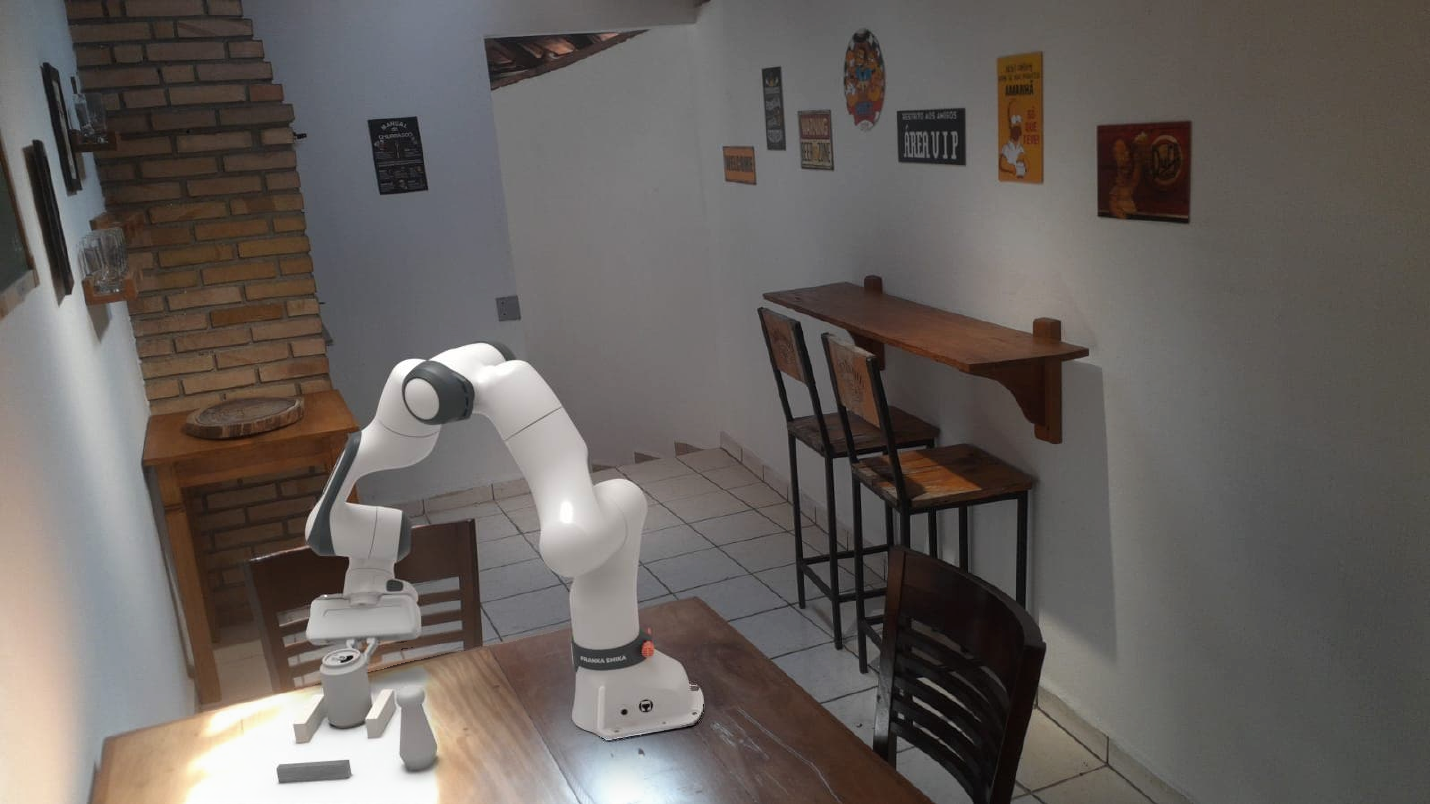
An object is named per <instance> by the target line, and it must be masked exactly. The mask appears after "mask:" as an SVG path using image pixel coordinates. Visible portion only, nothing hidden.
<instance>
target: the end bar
mask: <svg viewBox="0 0 1430 804" xmlns="http://www.w3.org/2000/svg"><path fill="white" fill-rule="evenodd" d="M276 774H277V780H278V784H283V783H298V782H299V783H300V782H311V781H325V780H327V781H328V780H341V779H350V777H351V775H352V769H351V763H350V759H339V760H338V759H337V760H321V761H309V762H297V763H296V762H295V763H294V762H293V763H281V764H280V763H279V764H278V766H277V767H276Z"/></svg>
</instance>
